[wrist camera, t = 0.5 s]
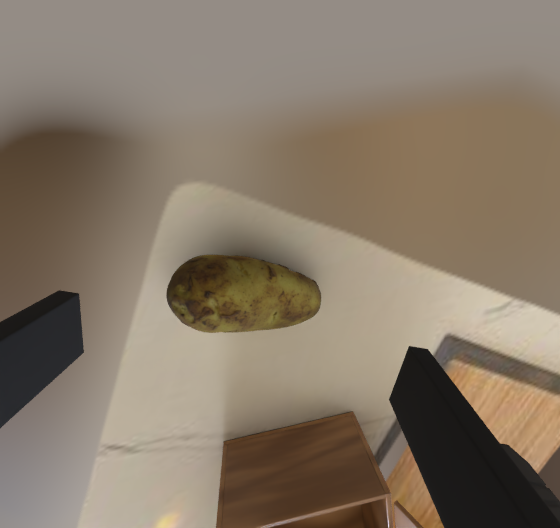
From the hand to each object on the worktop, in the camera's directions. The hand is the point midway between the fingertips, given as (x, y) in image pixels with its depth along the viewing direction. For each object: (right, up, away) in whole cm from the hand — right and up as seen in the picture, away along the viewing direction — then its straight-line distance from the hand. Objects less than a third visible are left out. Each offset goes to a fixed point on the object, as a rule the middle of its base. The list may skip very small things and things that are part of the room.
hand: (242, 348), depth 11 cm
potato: (-2, +2, +17) cm, 17 cm away
